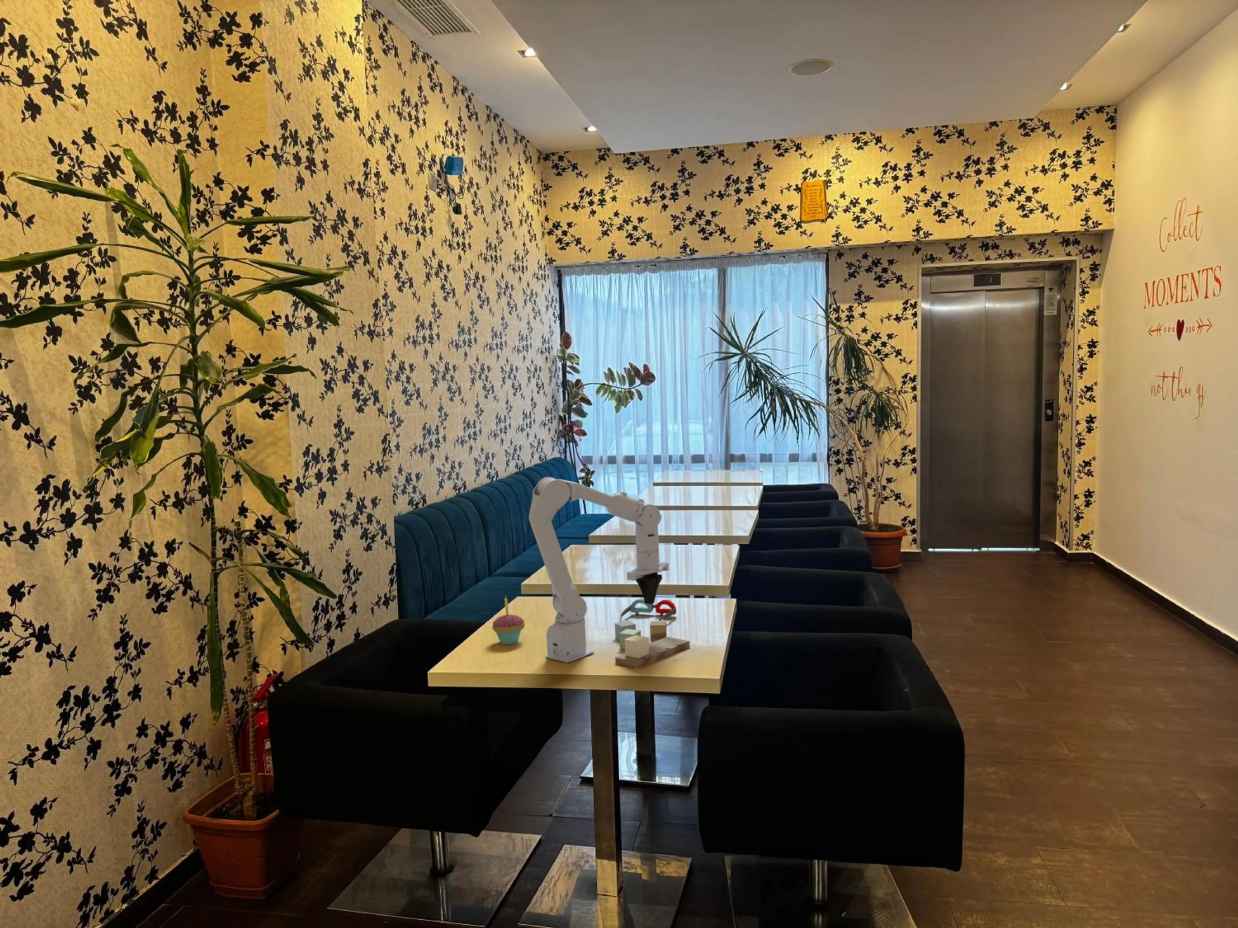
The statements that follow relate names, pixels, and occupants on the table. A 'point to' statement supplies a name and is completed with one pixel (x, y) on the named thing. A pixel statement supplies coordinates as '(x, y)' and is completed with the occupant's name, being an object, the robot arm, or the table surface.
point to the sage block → (627, 636)
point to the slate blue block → (623, 627)
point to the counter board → (654, 652)
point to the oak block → (658, 630)
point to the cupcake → (508, 627)
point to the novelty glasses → (651, 608)
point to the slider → (636, 646)
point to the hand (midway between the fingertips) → (649, 603)
